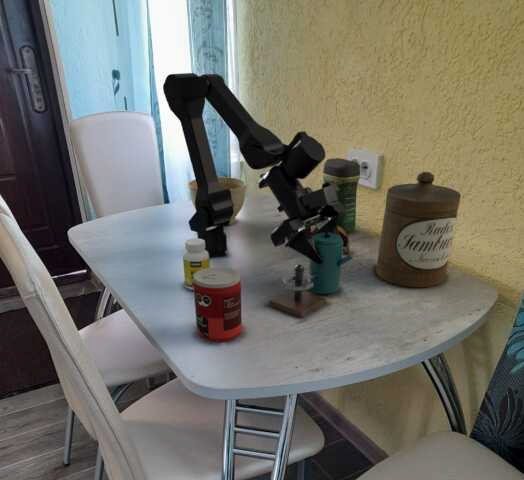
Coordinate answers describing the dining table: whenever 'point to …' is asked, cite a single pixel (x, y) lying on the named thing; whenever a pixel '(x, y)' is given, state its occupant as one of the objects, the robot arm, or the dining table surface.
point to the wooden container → (417, 233)
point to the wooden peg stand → (298, 298)
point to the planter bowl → (233, 184)
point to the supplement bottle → (194, 260)
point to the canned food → (218, 303)
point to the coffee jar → (344, 188)
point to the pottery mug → (340, 233)
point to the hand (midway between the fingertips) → (331, 258)
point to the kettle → (323, 266)
